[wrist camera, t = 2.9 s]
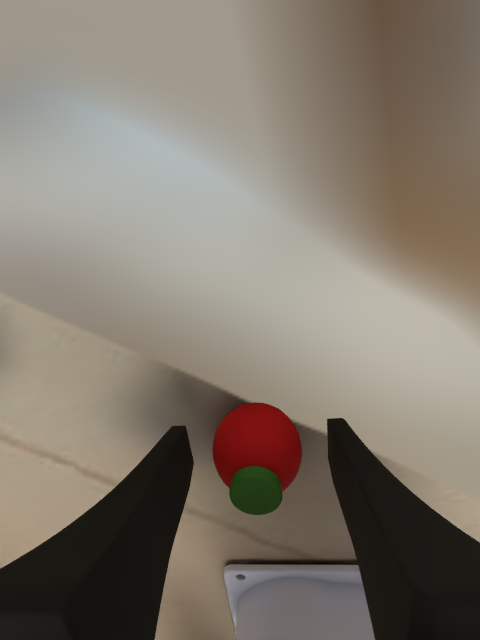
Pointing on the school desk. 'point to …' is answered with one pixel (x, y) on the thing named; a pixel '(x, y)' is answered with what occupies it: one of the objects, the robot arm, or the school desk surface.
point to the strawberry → (257, 456)
